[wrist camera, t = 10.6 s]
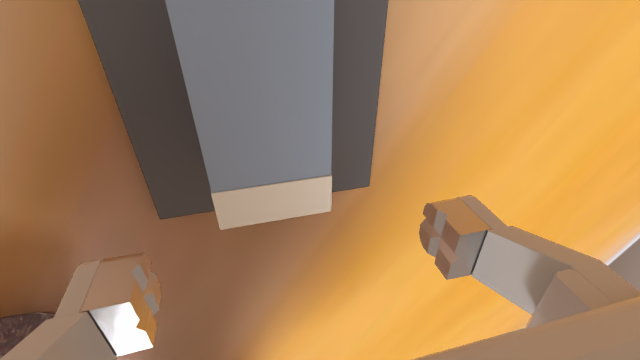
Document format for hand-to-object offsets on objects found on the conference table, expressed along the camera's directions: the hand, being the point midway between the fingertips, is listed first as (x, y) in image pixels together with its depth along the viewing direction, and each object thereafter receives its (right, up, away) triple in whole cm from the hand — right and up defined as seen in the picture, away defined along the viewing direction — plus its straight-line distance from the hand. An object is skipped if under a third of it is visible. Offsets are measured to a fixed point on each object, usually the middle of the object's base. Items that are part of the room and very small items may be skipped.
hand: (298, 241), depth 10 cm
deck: (-3, +6, +8) cm, 11 cm away
